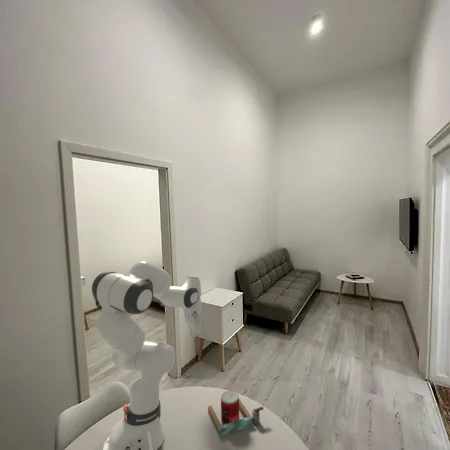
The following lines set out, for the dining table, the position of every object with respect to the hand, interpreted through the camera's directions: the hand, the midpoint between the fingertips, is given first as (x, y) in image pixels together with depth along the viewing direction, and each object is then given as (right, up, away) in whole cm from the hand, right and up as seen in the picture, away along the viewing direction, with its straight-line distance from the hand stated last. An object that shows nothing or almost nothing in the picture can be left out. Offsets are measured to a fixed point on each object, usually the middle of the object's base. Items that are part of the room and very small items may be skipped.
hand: (193, 336), depth 129 cm
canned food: (+18, -29, -19) cm, 39 cm away
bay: (+21, -29, -17) cm, 39 cm away
